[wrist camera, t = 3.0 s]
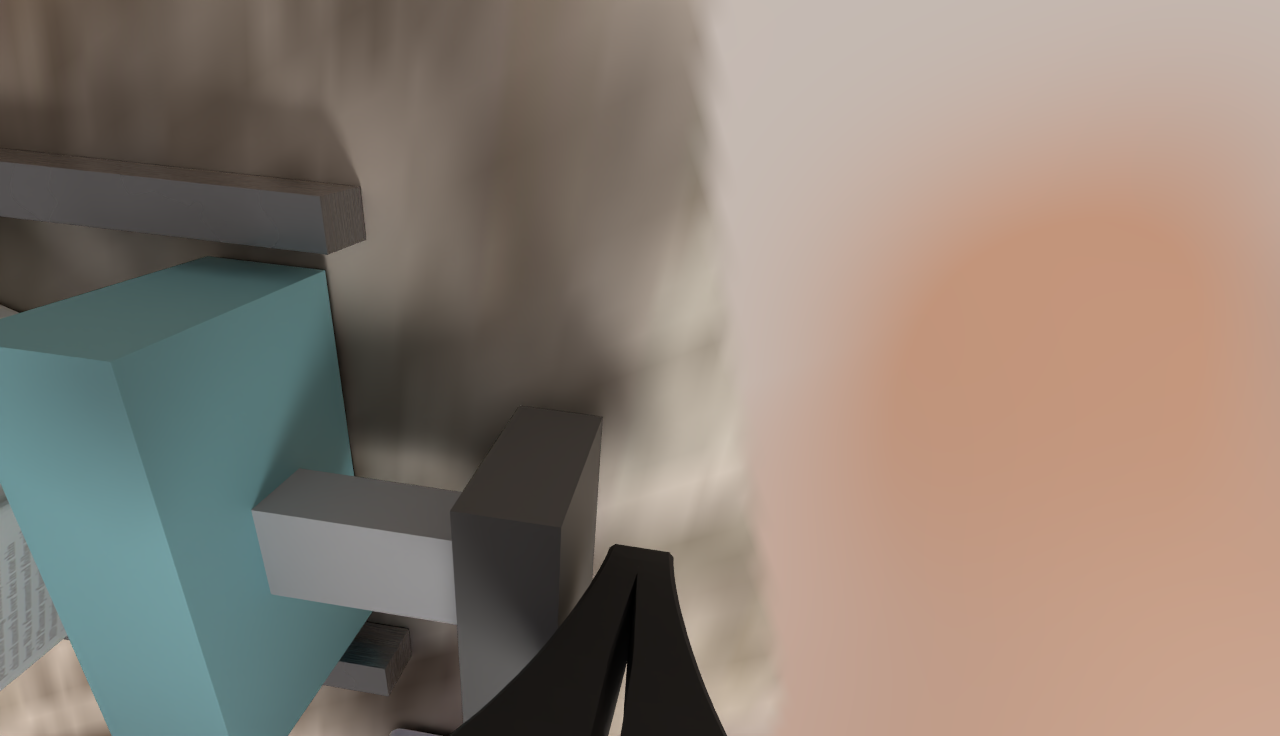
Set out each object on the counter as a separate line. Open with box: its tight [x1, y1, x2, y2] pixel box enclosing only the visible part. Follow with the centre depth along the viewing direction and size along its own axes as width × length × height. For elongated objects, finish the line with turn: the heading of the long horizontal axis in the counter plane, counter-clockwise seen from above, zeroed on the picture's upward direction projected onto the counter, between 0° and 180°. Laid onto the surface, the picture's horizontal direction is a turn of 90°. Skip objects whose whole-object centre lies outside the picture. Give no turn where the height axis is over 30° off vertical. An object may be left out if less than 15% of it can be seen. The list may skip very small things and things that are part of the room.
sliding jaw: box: [0, 256, 603, 736], centre depth 14 cm, size 11×10×6 cm
